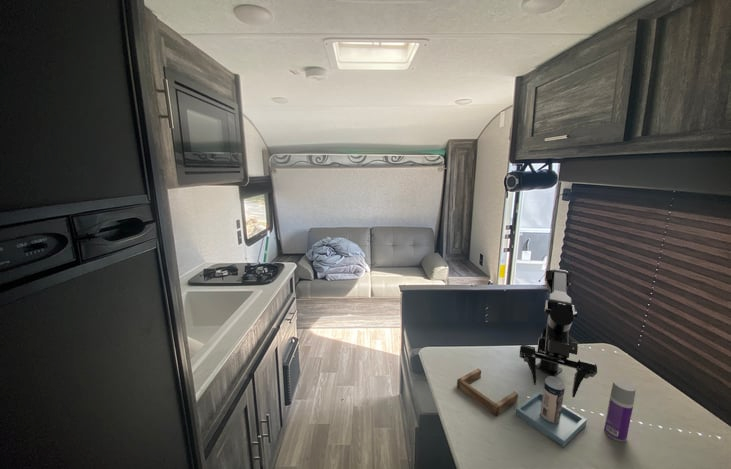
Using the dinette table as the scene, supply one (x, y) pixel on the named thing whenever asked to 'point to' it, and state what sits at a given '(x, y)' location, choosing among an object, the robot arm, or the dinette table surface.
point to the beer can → (552, 399)
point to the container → (619, 410)
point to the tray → (555, 431)
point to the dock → (482, 399)
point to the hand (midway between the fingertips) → (553, 390)
